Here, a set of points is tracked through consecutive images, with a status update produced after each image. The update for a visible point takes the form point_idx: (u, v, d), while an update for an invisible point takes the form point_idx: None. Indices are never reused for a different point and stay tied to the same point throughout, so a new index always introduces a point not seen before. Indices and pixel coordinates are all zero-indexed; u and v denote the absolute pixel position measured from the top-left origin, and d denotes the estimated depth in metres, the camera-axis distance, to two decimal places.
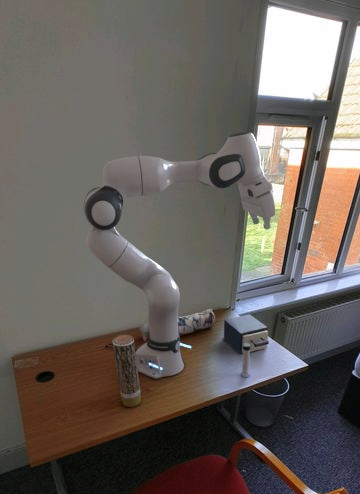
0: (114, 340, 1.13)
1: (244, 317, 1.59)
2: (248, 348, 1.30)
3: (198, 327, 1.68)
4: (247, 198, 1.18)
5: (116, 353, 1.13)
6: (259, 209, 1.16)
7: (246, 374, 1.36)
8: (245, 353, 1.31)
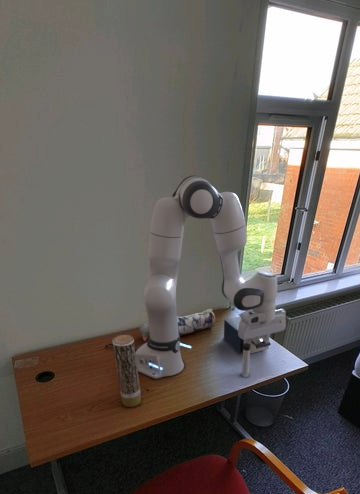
0: (114, 340, 1.13)
1: None
2: (248, 348, 1.30)
3: (198, 327, 1.68)
4: None
5: (116, 353, 1.13)
6: None
7: (246, 374, 1.36)
8: (245, 353, 1.31)
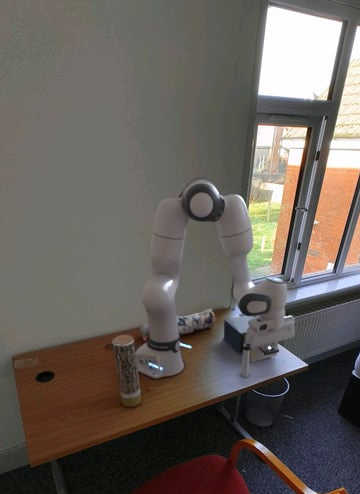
0: (114, 340, 1.13)
1: (244, 317, 1.59)
2: (248, 348, 1.30)
3: (198, 327, 1.68)
4: None
5: (116, 353, 1.13)
6: None
7: (246, 374, 1.36)
8: (245, 353, 1.31)
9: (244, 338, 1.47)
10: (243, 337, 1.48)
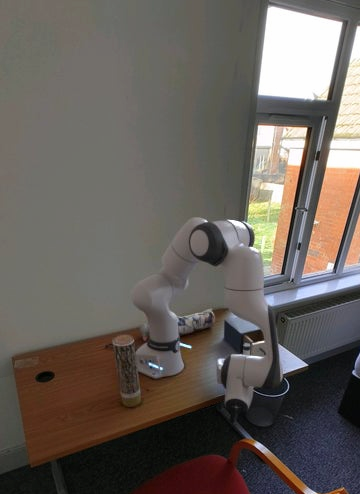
0: (114, 340, 1.13)
1: None
2: (248, 348, 1.30)
3: (198, 327, 1.68)
4: None
5: (116, 353, 1.13)
6: None
7: None
8: (245, 353, 1.31)
9: (244, 338, 1.47)
10: (243, 337, 1.48)
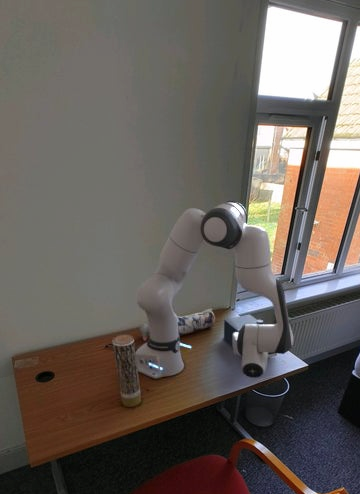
0: (114, 340, 1.13)
1: (244, 317, 1.59)
2: None
3: (198, 327, 1.68)
4: None
5: (116, 353, 1.13)
6: None
7: None
8: None
9: None
10: None
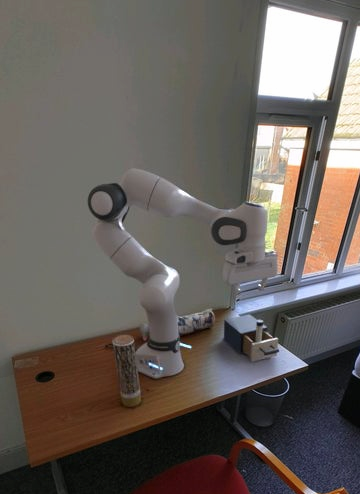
0: (114, 340, 1.13)
1: (244, 317, 1.59)
2: (261, 324, 1.42)
3: (198, 327, 1.68)
4: None
5: (116, 353, 1.13)
6: None
7: None
8: (258, 329, 1.43)
9: (244, 338, 1.47)
10: (243, 337, 1.48)
